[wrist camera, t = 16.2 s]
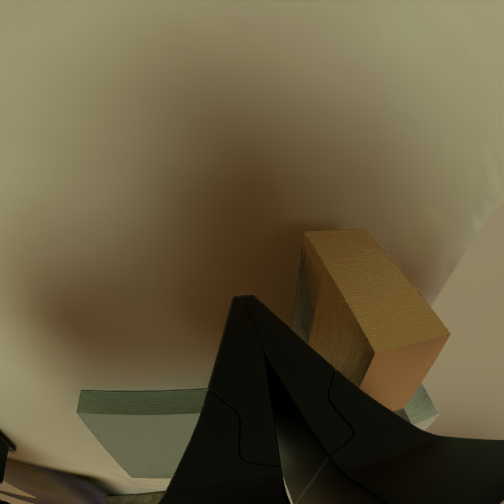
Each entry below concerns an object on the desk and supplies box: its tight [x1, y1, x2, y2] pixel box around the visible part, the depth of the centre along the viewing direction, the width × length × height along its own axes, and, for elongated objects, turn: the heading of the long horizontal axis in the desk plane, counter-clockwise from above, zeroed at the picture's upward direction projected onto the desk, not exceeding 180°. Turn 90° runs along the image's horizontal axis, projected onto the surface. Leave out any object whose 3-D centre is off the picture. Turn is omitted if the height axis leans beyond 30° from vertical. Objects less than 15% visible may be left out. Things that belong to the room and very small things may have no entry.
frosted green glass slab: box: [77, 383, 439, 478], centre depth 17 cm, size 20×11×4 cm, turn 88°
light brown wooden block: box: [283, 229, 450, 499], centre depth 13 cm, size 2×20×5 cm, turn 178°
